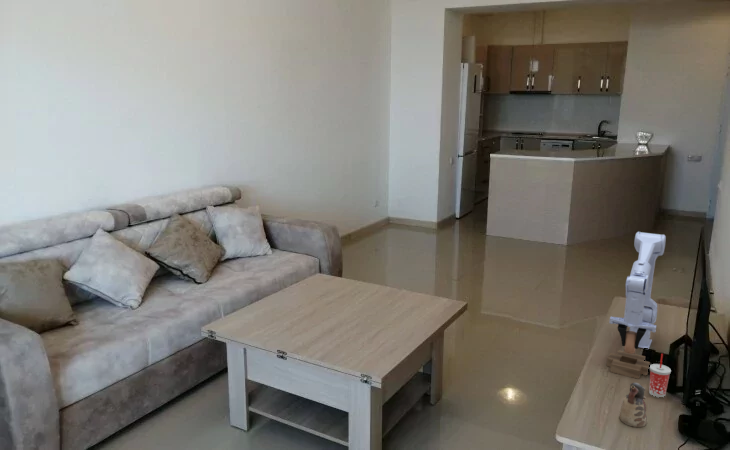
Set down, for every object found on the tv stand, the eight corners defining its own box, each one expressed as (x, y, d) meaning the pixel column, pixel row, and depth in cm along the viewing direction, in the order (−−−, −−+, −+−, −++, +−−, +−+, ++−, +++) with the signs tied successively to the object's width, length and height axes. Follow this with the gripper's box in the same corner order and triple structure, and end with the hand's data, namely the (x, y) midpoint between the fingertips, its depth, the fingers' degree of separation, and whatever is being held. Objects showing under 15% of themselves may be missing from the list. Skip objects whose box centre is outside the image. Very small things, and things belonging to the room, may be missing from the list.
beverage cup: (667, 400, 177) (672, 359, 174) (645, 395, 180) (650, 355, 177) (668, 392, 182) (673, 352, 179) (647, 387, 185) (652, 347, 182)
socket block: (611, 356, 207) (612, 348, 206) (650, 365, 200) (651, 357, 199) (604, 370, 196) (605, 362, 196) (645, 380, 189) (646, 372, 189)
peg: (625, 348, 199) (627, 330, 198) (635, 350, 197) (637, 332, 196) (623, 352, 196) (625, 333, 195) (634, 354, 194) (636, 335, 193)
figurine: (651, 422, 165) (655, 385, 162) (636, 430, 161) (641, 392, 159) (628, 411, 171) (632, 375, 168) (614, 418, 167) (618, 381, 164)
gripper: (609, 309, 194) (605, 345, 197) (656, 317, 186) (651, 355, 189) (613, 302, 200) (609, 338, 203) (658, 311, 192) (654, 348, 195)
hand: (630, 346), depth 196 cm, fingers closed on peg, 3 cm apart
